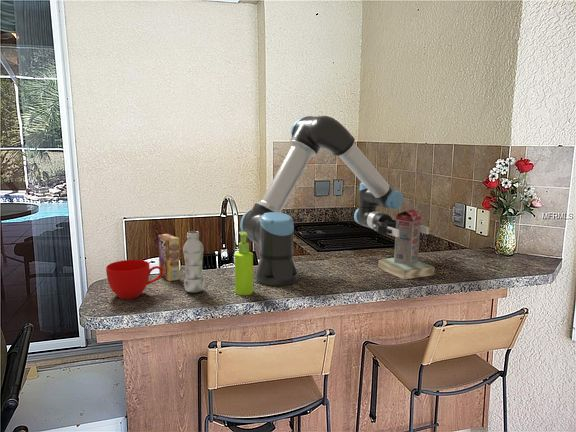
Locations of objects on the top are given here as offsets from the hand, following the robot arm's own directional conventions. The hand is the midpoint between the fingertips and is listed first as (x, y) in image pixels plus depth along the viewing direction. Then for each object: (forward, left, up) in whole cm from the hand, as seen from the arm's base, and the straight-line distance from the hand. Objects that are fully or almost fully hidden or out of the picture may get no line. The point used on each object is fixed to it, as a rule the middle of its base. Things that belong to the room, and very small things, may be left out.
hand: (413, 232), depth 171 cm
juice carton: (0, +3, -13) cm, 13 cm away
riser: (0, +3, -16) cm, 16 cm away
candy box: (-85, +28, -16) cm, 91 cm away
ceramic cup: (-98, +14, -16) cm, 100 cm away
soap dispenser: (-65, +4, -16) cm, 67 cm away
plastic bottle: (-80, +10, -16) cm, 82 cm away
